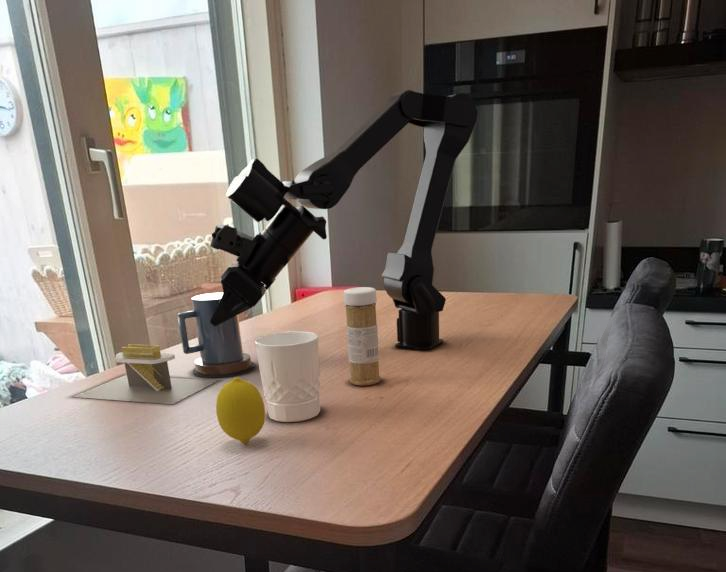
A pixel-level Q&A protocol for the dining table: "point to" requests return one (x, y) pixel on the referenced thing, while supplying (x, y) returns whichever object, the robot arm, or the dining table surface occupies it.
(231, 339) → the mug
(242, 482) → the dining table surface
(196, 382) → the platform
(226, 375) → the base
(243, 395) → the lemon
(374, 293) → the spice jar
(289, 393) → the white cup
